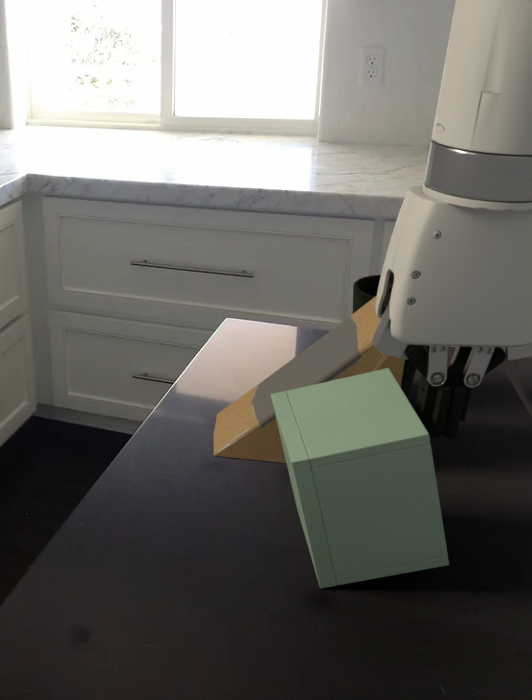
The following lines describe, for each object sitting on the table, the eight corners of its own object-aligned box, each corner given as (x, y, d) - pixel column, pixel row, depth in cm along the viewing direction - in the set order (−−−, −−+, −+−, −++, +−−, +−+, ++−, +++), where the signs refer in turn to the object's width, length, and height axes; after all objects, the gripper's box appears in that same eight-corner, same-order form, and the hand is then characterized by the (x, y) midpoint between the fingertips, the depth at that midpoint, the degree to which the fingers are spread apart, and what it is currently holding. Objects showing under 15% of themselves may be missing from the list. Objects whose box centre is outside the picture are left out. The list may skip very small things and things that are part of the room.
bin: (408, 486, 70) (388, 367, 66) (449, 565, 61) (429, 433, 57) (296, 508, 71) (270, 393, 67) (320, 589, 62) (291, 462, 58)
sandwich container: (215, 412, 87) (224, 270, 80) (376, 425, 84) (397, 279, 78) (211, 456, 79) (220, 303, 73) (387, 472, 76) (412, 314, 70)
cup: (425, 417, 85) (445, 303, 80) (345, 412, 86) (360, 300, 81) (409, 382, 92) (427, 275, 87) (335, 378, 93) (348, 273, 88)
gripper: (582, 163, 57) (521, 407, 65) (354, 159, 58) (319, 401, 66) (645, 190, 51) (568, 459, 58) (385, 185, 51) (342, 452, 59)
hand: (436, 428), depth 62 cm, fingers closed
